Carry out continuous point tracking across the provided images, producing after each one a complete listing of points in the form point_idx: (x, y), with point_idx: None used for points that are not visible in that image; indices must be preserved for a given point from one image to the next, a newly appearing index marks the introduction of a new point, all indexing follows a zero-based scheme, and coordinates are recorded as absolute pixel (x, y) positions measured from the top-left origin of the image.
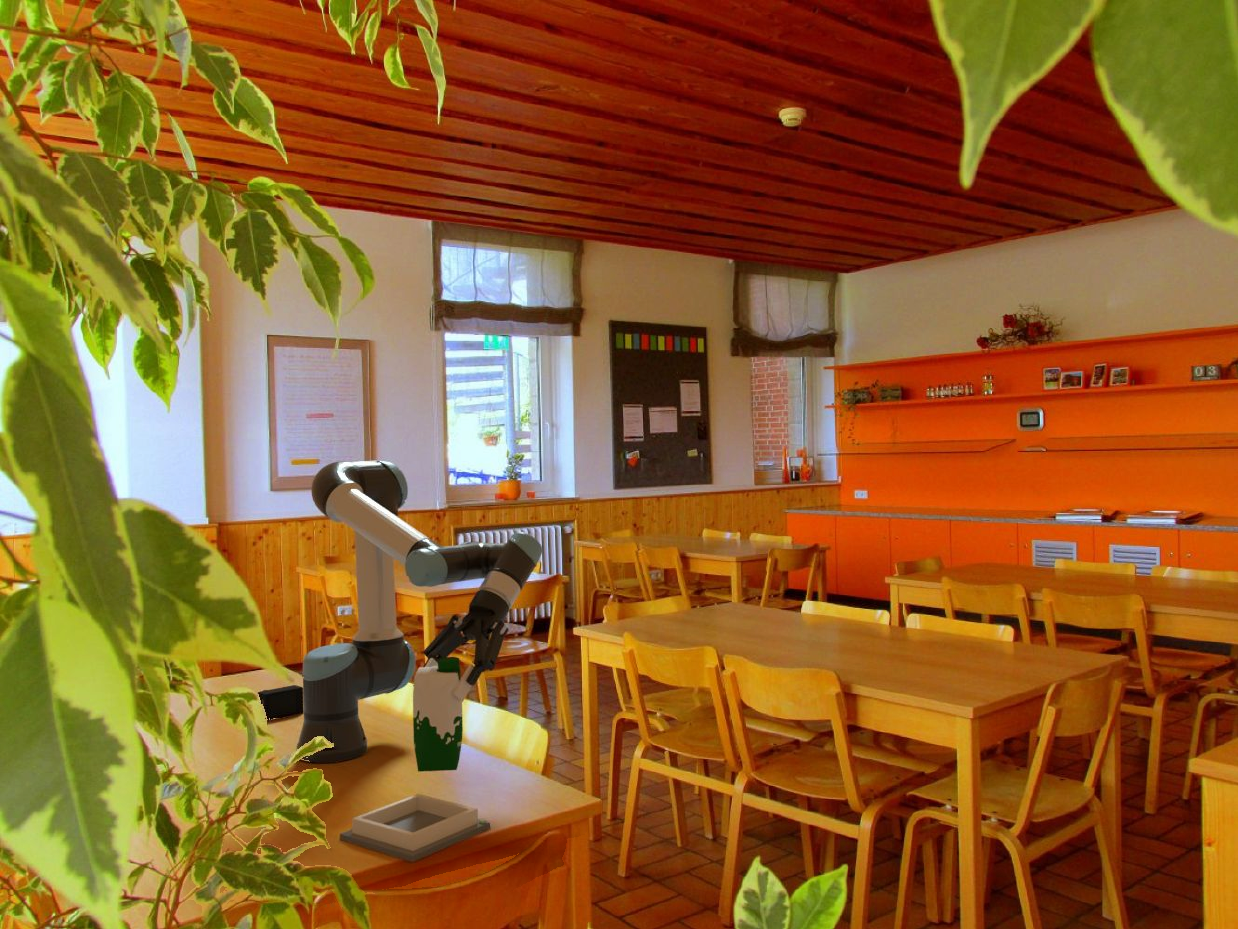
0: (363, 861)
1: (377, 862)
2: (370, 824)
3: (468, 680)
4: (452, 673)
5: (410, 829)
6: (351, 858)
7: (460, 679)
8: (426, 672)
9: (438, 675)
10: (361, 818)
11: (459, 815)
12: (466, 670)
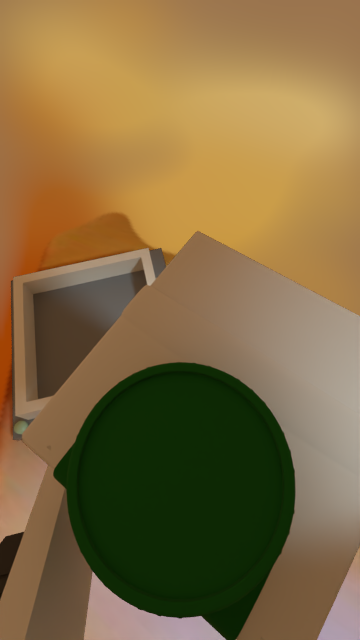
0: (71, 246)
1: (54, 256)
2: (106, 257)
3: (17, 536)
4: (61, 424)
5: (97, 323)
6: (92, 240)
7: (64, 492)
8: (234, 315)
9: (107, 334)
10: (136, 256)
11: (17, 371)
12: (33, 573)
